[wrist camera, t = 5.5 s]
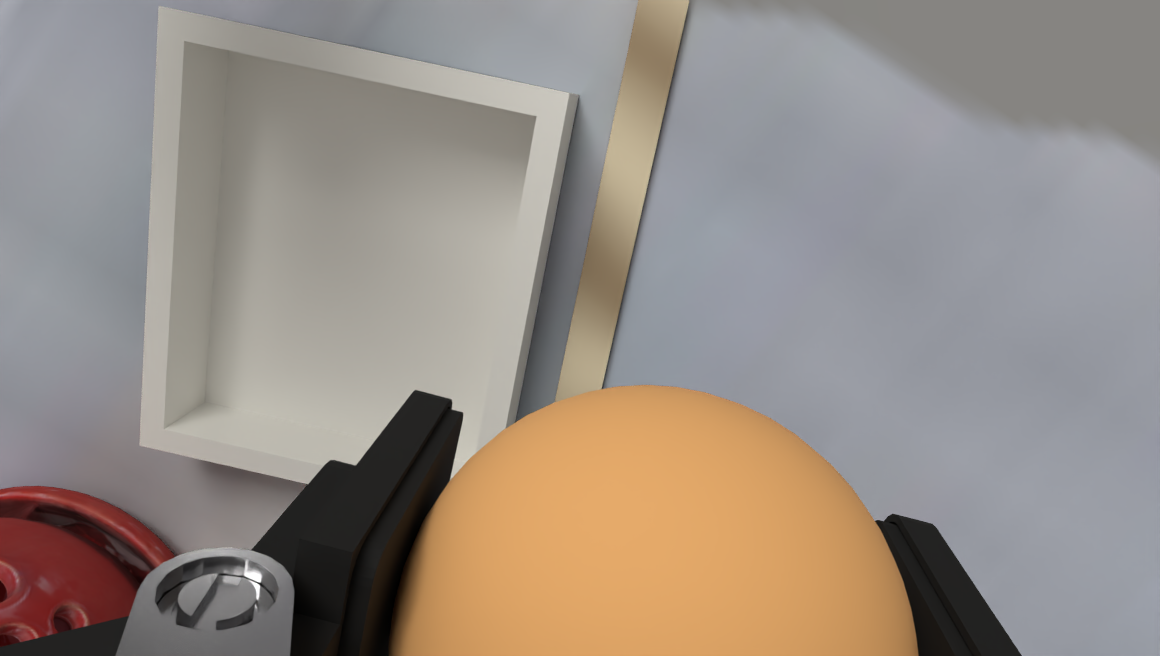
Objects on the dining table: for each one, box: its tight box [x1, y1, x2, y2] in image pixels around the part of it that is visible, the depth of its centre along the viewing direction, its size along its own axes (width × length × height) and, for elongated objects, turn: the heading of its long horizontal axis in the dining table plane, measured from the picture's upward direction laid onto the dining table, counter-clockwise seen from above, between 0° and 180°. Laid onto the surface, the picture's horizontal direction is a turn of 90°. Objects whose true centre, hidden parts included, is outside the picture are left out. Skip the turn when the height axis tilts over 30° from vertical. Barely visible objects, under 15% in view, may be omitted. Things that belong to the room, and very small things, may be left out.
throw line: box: [555, 0, 689, 402], centre depth 26 cm, size 20×2×1 cm, turn 169°
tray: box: [140, 6, 579, 484], centre depth 25 cm, size 14×12×3 cm
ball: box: [388, 385, 919, 656], centre depth 9 cm, size 6×6×6 cm
